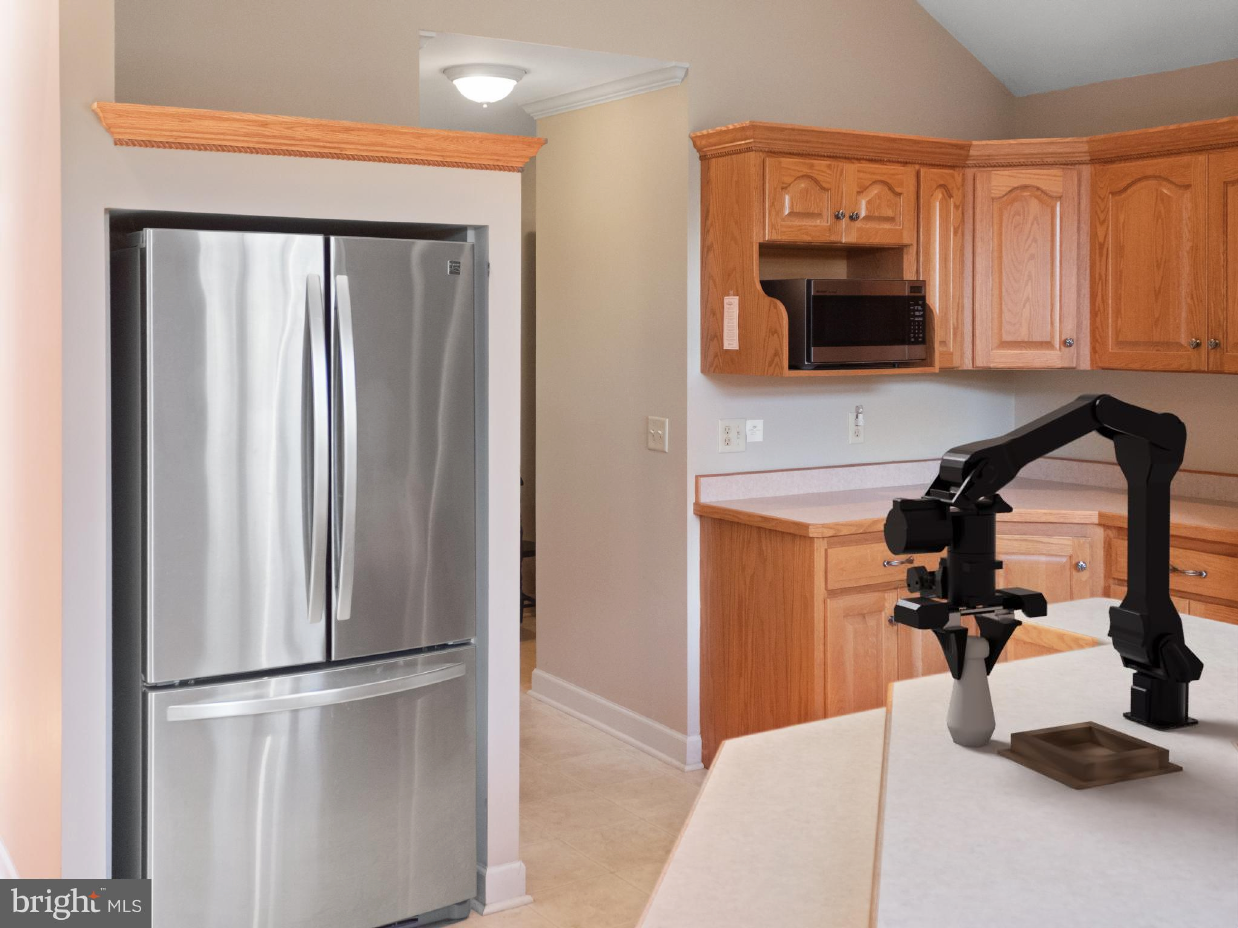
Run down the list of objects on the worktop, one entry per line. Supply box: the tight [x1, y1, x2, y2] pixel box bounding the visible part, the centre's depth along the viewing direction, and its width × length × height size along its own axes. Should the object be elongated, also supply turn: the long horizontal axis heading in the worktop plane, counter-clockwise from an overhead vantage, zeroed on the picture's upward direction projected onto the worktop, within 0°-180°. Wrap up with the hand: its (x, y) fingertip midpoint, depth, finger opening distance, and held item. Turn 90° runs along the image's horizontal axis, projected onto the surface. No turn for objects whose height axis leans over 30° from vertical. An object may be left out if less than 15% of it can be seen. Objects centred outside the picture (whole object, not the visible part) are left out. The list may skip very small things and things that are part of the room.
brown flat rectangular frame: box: [996, 720, 1184, 790], centre depth 133 cm, size 15×13×2 cm
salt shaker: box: [945, 634, 997, 748], centre depth 141 cm, size 6×6×13 cm
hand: (970, 677), depth 140 cm, fingers closed on salt shaker, 4 cm apart
